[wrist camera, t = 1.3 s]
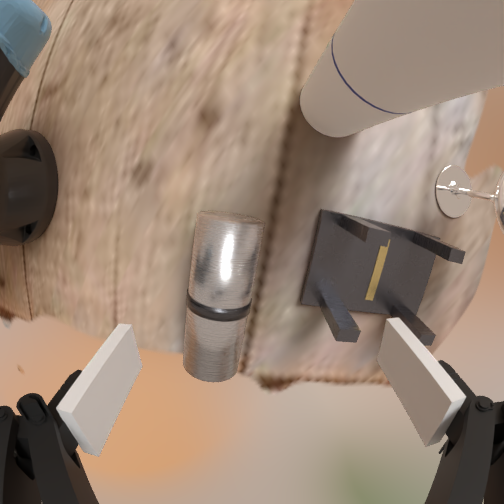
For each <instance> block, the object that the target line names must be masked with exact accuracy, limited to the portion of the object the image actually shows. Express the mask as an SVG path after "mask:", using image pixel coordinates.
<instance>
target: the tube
mask: <svg viewBox="0 0 504 504" xmlns="http://www.w3.org/2000/svg"><path fill="white" fill-rule="evenodd" d="M264 226H265V223H264V222H263V221H261V220H259V219H256V218H253V217H249V216H245V215H240V214H235V213H228V212H219V211H201V212H198V213H197V220H196V228H195V235H194V244H193V252H192V261H191V270H190V280H189V288H188V290H187V300H186V304H187V312H186V325H185V338H184V354H183V365H184V368H185V370H186V371H187V372H188V373H189V374H190V375H192V376H193V377H195V378H197V379H200V380H203V381H207V382H221V381H225V380H228V379H230V378H231V377H233V376H234V375H235V374H236V372H237V369H238V364H239V359H240V353H241V348H242V343H243V338H244V332H245V327H246V322H247V317H248V314H249V312H250V307H251V301H252V298H251V296H252V290H253V285H254V280H255V274H256V269H257V263H258V258H259V253H260V247H261V242H262V236H263V231H264Z"/></svg>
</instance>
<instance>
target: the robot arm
mask: <svg viewBox="0 0 504 504" xmlns="http://www.w3.org/2000/svg"><path fill="white" fill-rule="evenodd" d="M51 30H52V26H51V22H50V20H49V18H48V16H47V15H46V14H45V13H44V12H43V11H42V10H41V9H40V8H39V7H38V6H37V5H36V4H35V3H34V2H33V1H32V0H0V121H1V119H2V117H3V115H4V113H5V111H6V109H7V107H8V105H9V103H10V101H11V100H12V98H13V96H14V94H15V93H16V91H17V89H18V87H19V86H20V84H21V82H22V81H23V79H24V77H25V78H27V76H28V75H29V72H30V71H29V70H30V68H31V66H32V65H33V63H34V61H35V60H36V58H37V57H38V55H39V53H40V52H41V50H42V49H43V47H44V46H45V44H46V43H47V41H48V40H49V37H50V35H51ZM57 191H58V174H57V166H56V161H55V157H54V154H53V151H52V149H51V147H50V145H49V143H48V141H47V140H46V139H45V138H44V137H43V136H42V135H41V134H40V133H38V132H36V131H33V130H25V129H16V130H12V131H9V132H7V133H4V134H2V135H0V245H9V246H19V245H23V244H26V243H28V242H31V241H33V240H35V239H37V238H38V237H39V236H40V235H41V234H42V233H43V232H44V231H45V229H46V228H47V226H48V225H49V223H50V220H51V218H52V215H53V212H54V209H55V205H56V200H57ZM377 362H378V364H379V365H380V367H381V369H382V370H383V372H384V374H385V375H386V377H387V379H388V380H389V382H390V384H391V386H392V387H393V389H394V391H395V392H396V394H397V396H398V398H399V399H400V401H401V403H402V405H403V406H404V408H405V410H406V412H407V414H408V415H409V417H410V419H411V421H412V423H413V424H414V426H415V428H416V430H417V432H418V434H419V435H420V437H421V439H422V441H423V443H424V445H425V447H427V446H430V445H432V444H435V443H438V442H440V440H441V439H442V437H443V436H444V434H445V433H446V435H447V436H448V440H447V441H446V442H445V444H444V445H443V447H442V448H441V450H440V451H439V454H440V453H441V452H442V451H443V454H442V457H441V461H440V464H439V467H438V470H437V473H436V476H435V479H434V481H433V484H432V487H431V489H430V492H429V494H428V497H427V499H426V502H425V504H482V502H483V498H484V504H504V401H503V402H495V403H493V401H492V400H491V399H489V398H488V397H485V396H477V397H476V396H475V394H474V393H473V392H472V391H471V390H470V388H469V387H468V386H467V385H466V383H465V382H464V381H463V380H462V379H460V377H459V375H458V374H457V373H456V372H455V370H454V369H453V368H452V367H451V366H450V365H449V364H447V363H445V362H444V361H442V360H440V361H437V360H436V359H435V358H434V357H433V356H432V354H431V353H430V352H429V351H428V350H427V349H426V347H425V346H424V345H423V344H422V343H421V342H420V341H419V339H418V338H417V337H416V336H415V335H414V334H413V333H412V332H411V330H410V329H409V328H408V327H407V326H406V325H405V324H404V323H403V322H402V321H401V319H400V318H399V317H398V318H389V319H386V323H385V328H384V333H383V337H382V342H381V346H380V350H379V354H378V358H377ZM141 368H142V363H141V359H140V356H139V352H138V348H137V344H136V340H135V336H134V332H133V327H132V324H118V326H117V327H116V328H115V329H114V331H113V332H112V333H111V335H110V336H109V337H108V338H107V340H106V341H105V342H104V343H103V345H102V346H101V348H100V349H99V350H98V351H97V353H96V354H95V355H94V357H93V358H92V359H91V360H90V362H89V363H88V365H87V366H86V367H85V369H84V370H83V371H81V370H77V371H75V372H74V373H73V374H71V375H70V376H69V377H68V379H67V380H66V381H65V384H63V385H62V386H61V388H60V390H58V392H57V393H56V394H55V396H54V397H53V398H52V400H51V401H50V402H49V404H48V405H46V403H45V402H44V400H43V398H42V396H40V395H39V394H36V393H30V394H27V395H24V396H23V397H21V398H20V399H19V401H18V402H17V406H16V407H17V409H18V411H19V412H20V414H21V415H22V416H19V415H15V413H14V412H13V410H12V409H11V408H10V407H8V406H0V504H42V503H43V504H99V503H98V501H97V499H96V496H95V494H94V492H93V490H92V488H91V486H90V483H89V481H88V478H87V476H86V473H85V471H84V468H83V466H82V463H81V461H80V458H79V455H78V453H77V451H76V448H77V446H78V444H79V446H80V447H81V449H82V450H83V451H84V452H85V453H88V454H91V455H95V456H98V457H99V455H100V453H101V451H102V449H103V447H104V445H105V442H106V440H107V438H108V436H109V434H110V431H111V429H112V427H113V425H114V423H115V421H116V419H117V417H118V415H119V413H120V411H121V408H122V406H123V404H124V402H125V400H126V398H127V396H128V394H129V392H130V390H131V388H132V386H133V384H134V382H135V380H136V378H137V376H138V374H139V372H140V370H141ZM41 500H42V501H41Z"/></svg>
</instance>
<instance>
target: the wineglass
mask: <svg viewBox="0 0 504 504" xmlns="http://www.w3.org/2000/svg"><path fill="white" fill-rule="evenodd" d="M472 197H473V198H478V199H483V200H488V201H492V202H493V203H494V207H495V213H496V217H497V221H498V224H499V226H500V228H501V230H502V232H503V234H504V172H503V173H502V175H501V176H500V178H499V181H498V183H497V186H496V190H495V192H494V193H486V192H479V191H473V190H472V186H471V182H470V179H469V177H468V175H467V173H466V172H465V171H464V170H463V169H462V168H461V167H459V166H456V165H450V166H447V167H445V168H444V169H443V170H442V171H441V173H440V174H439V176H438V179H437V183H436V198H437V202H438V205H439V207H440V209H441V210H442V211H443V213H444V214H446V215H447V216H449V217H452V218H456V217H460V216H462V215H463V214H464V213H465V212H466V211H467V209H468V208H469V205H470V203H471V198H472Z"/></svg>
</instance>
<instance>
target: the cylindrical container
mask: <svg viewBox="0 0 504 504" xmlns="http://www.w3.org/2000/svg"><path fill="white" fill-rule="evenodd" d="M500 86H504V0H355V1H354V2H353V4H352V5H351V7H350V9H349V10H348V12H347V13H346V15H345V17H344V18H343V20H342V22H341V23H340V25H339V27H338V28H337V30H336V31H335V33H334V35H333V36H332V38H331V40H330V42H329V43H328V45H327V47H326V48H325V50H324V52H323V53H322V55H321V57H320V59H319V60H318V62H317V64H316V65H315V67H314V69H313V71H312V72H311V74H310V76H309V78H308V79H307V81H306V83H305V85H304V87H303V89H302V91H301V94H300V107H301V111H302V113H303V116H304V117H305V119H306V121H307V122H308V123H309V124H310V125H311V126H312V127H313V128H314V129H315V130H317V131H318V132H320V133H322V134H324V135H327V136H330V137H345V136H349V135H352V134H354V133H357V132H359V131H362V130H364V129H367V128H370V127H372V126H375V125H378V124H380V123H383V122H386V121H389V120H391V119H394V118H397V117H400V116H403V115H406V114H409V113H411V112H415V111H418V110H420V109H424V108H427V107H430V106H433V105H436V104H439V103H442V102H445V101H449V100H452V99H455V98H459V97H462V96H466V95H469V94H473V93H477V92H480V91H484V90H488V89H492V88H496V87H500Z"/></svg>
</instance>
